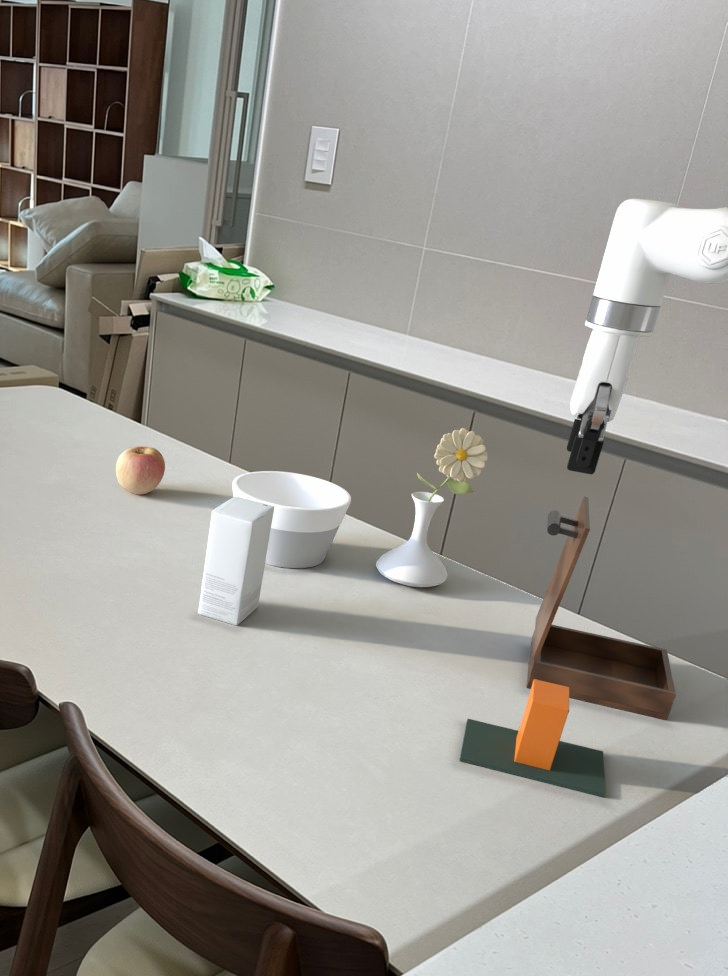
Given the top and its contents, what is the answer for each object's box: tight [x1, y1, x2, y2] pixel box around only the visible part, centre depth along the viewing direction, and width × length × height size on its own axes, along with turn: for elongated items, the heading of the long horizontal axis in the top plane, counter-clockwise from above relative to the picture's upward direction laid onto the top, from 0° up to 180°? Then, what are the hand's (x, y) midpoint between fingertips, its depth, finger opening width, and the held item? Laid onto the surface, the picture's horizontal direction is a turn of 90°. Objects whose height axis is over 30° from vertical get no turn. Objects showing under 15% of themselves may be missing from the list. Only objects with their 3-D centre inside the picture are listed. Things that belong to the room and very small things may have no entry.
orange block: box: [514, 679, 570, 770], centre depth 121 cm, size 4×6×8 cm, turn 162°
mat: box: [459, 718, 606, 798], centre depth 123 cm, size 16×10×1 cm, turn 72°
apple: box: [115, 445, 166, 495], centre depth 192 cm, size 9×9×8 cm
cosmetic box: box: [197, 495, 274, 626], centre depth 147 cm, size 8×7×16 cm
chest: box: [526, 624, 677, 721], centre depth 143 cm, size 18×15×4 cm
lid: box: [533, 495, 591, 660], centre depth 140 cm, size 18×15×4 cm
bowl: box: [231, 470, 352, 569], centre depth 172 cm, size 19×19×11 cm
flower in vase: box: [375, 427, 489, 588], centre depth 164 cm, size 13×11×25 cm
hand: (579, 461), depth 130 cm, fingers open, 9 cm apart
